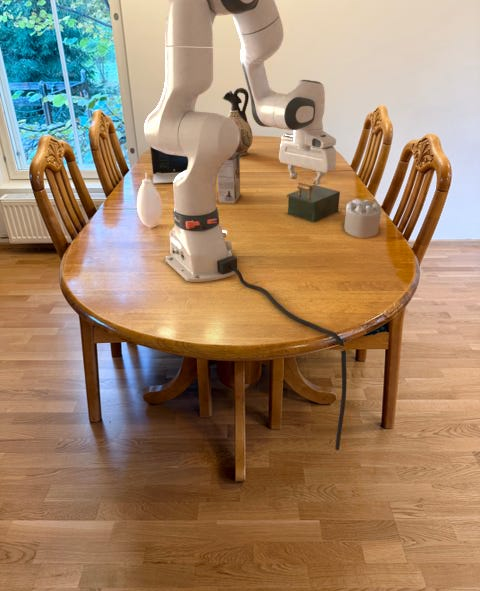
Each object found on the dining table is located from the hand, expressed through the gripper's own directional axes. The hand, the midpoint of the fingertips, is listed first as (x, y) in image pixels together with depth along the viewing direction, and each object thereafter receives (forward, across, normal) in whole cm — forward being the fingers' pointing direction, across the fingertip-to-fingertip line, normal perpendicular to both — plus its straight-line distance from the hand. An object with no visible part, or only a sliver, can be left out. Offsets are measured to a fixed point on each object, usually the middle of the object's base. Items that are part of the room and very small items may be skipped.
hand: (304, 181), depth 157 cm
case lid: (+6, 0, +6) cm, 8 cm away
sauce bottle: (+13, -30, -40) cm, 51 cm away
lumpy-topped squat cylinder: (+12, +20, +4) cm, 24 cm away
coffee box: (+12, -31, -4) cm, 34 cm away
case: (+12, 0, +6) cm, 14 cm away
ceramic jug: (+11, -75, +44) cm, 88 cm away
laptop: (+12, -66, -2) cm, 67 cm away
